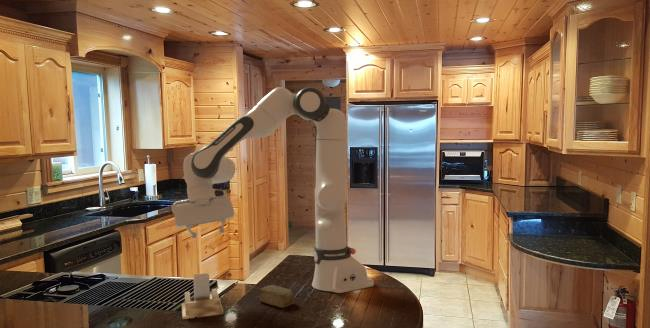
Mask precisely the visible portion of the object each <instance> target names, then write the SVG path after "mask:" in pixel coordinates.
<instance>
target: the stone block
mask: <svg viewBox="0 0 650 328" xmlns="http://www.w3.org/2000/svg"><path fill="white" fill-rule="evenodd" d="M258 299H259V301H260V302H261V303H264V304H265V305H266V304H268V305H269V306H273V307H278V308H287V307H290V306H292V305H294V304H295V300H296V298H295V292H294V291H293V289H290V288H289V289H288V288H286V287H283V286H277V285H274V284H270V285H266V286H264V287H261V288H260V289H259V298H258Z"/></svg>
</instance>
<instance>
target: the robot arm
mask: <svg viewBox="0 0 650 328" xmlns="http://www.w3.org/2000/svg"><path fill="white" fill-rule="evenodd" d="M292 115H293V116H295V117H298V118H300V120H301V119H302V120H304V121H312V122H313V123H314V125H315V128H316V144H315V145H316V146H315V151H316V152H315V187H314V215H315V217H314V218H315V219H314V220H315V221H314V222H315V246H314V253H313V255H314V257H313V258H314V263H315V267H314V273H313V279H312V283H311V287H312V288H314V289H315V290H319V291H323V292H332V293H337V294H343V293H348V292H351V291H356V290H361V289H366V288H371V287H374V286H375V284H374V283H375V282H374V280H373V279H372V277H370V276H368V273H367V269H366V267H365V265H364V264H362V263H361V262H360V261H359V260H357V259H356V258H355V257H354V256H352V255H356V253H357V251H356V250H357V249H355V248H353V247H350V246H348V245H347V222H346V210H345V209H346V205H345V204H346V202H347V200H348V168H347V167H348V165H347V163H348V161H347V160H348V159H347V158H348V126H347V120H346V115H345V112H343V111H341V110H340V109H338V108H331V107H330V104H329V103H328V101H327V99H326V97H325V95H324V94H323V92H322V91H321V90H320V89H319V88H316V87H311V86H306V87H303V88H302V89H300V90H299V91H297V93H293V92H291V91H290V90H289V89H288V88H285V87H283V86H278V87H275V88H273V89H272V90H271V91H269V92H268V93H267V94H266V95H265V96H264V97H262V98H261V99H260V100H259V101H258V102H257V104H255V105H254V106H253V108H251V110H249V111H248V112H247V113H246V114H245V115H243V116H241V117H239V118H237V119H236V120H235V121H234V122H233V123H231V124H230V125H229V126H228V127H227V128H226V129H224V131H222V132H221V133H220V134H219V135H218V136H217V137H216V138H215V139H213V140H212V141H211V142H210V143H209V144H207V145H204V146H202V147H200V148H199V149H198V150H196V151H195V152H192V153H189V154H188V155H187V156H186V157H185V158H184V159H183V165H182V168H183V176H184V181H185V183H186V194H187V199H184V200H183V199H182V200H178V201H175V202H173V204H171V213H172V214H173V215H174V225H175V227H176V228H177V229H183V228H186V231H188V233H189V234H190V236H191V240H193V239H197V235H196V234H197V233H196V231H195V232H193V230H192V227H194V226H199V225H204V224H210V223H215V222H220V224H221V226H220V227H218V233H219V234H224V233H225V229H224V228H225V227H224V226H225V224H226V220H227V221H228V220H231V219H233V218H234V217H235V209H234V207H233V204H232V201H231V199H230V198H229V197H227V196H228V193H227V190H223V189H217V188H213V185H215V184H222V183H223V184H224V183H227V182H229V181H231V180H232V179H233V177H234V175H235V173H236V165H235V163H234V161H233V160H232V159H231V158H229V157H227V155H228V153H229V152H231V150H233V149H234V148H235V147H236V146H237V145H238V144H240V142H242V141H244V140H247V139H253V138H257V139H262V138H267V137H269V136H271V135H272V134H273V133H275V132H276V131H277V130H278V128H279V127H280V126H281V125H282V124H283V123H284V122H285V121H286V120H287V119H288V118H289V117H291V116H292Z"/></svg>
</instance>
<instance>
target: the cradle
mask: <svg viewBox="0 0 650 328" xmlns="http://www.w3.org/2000/svg"><path fill="white" fill-rule="evenodd" d="M218 315H219V316H220V315H224V308H223V305H222V302H221V298H220V297H219V293H218V290H217V288H211V298H210V299H206V300H198V301H194V300H193V301H192V300H191V293H190V291H185V292H184V302H182V303H181V316H182V320H189V318H190V319H194V318H195V317H197V318H204V317H211V316H218ZM195 319H196V318H195Z"/></svg>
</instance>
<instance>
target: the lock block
mask: <svg viewBox="0 0 650 328" xmlns="http://www.w3.org/2000/svg"><path fill="white" fill-rule="evenodd" d="M210 290H211V288H210V275H209V273H208V272H206V273H196V274H193V299H194V300H193V301H198V300H206V299H211V291H210Z"/></svg>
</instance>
